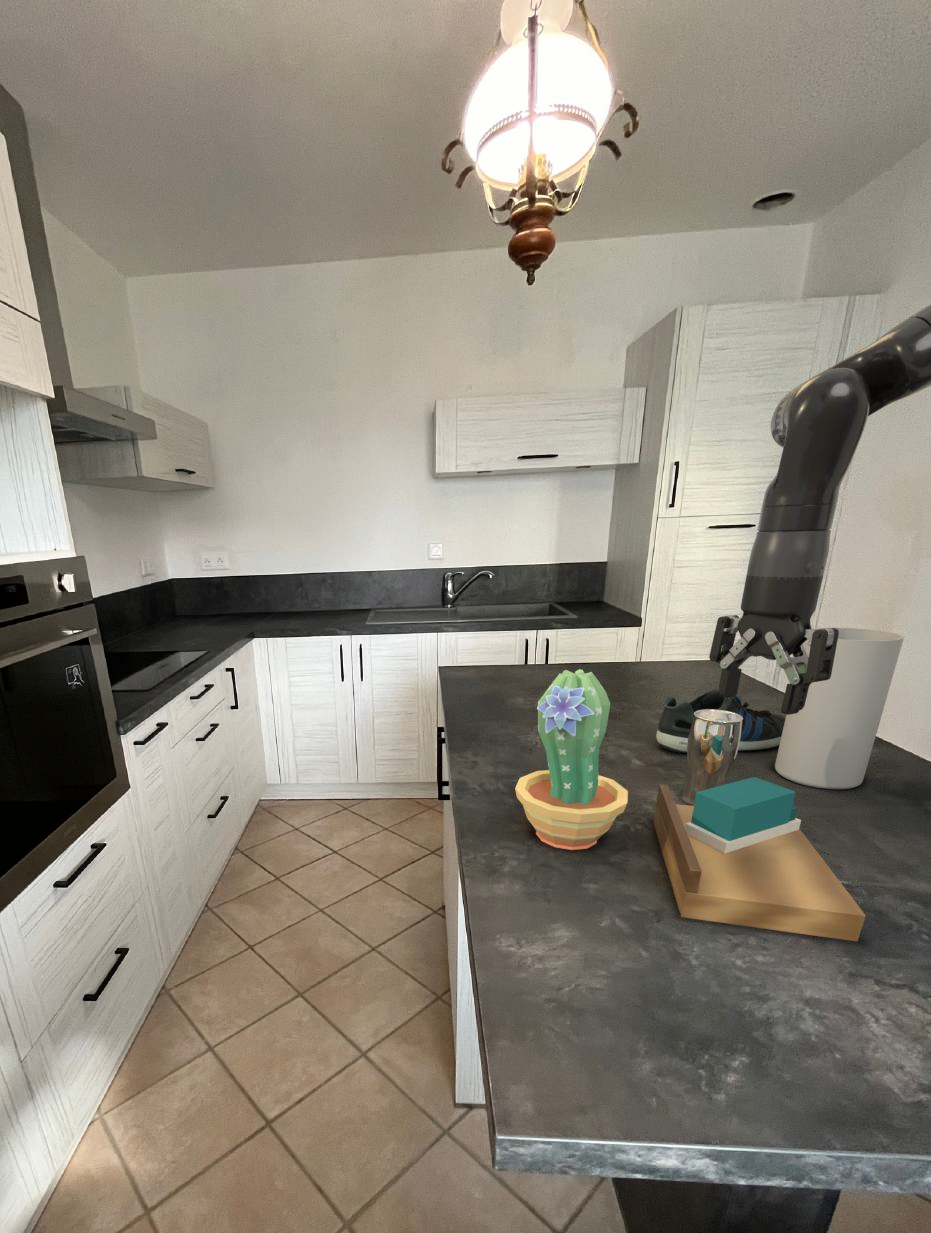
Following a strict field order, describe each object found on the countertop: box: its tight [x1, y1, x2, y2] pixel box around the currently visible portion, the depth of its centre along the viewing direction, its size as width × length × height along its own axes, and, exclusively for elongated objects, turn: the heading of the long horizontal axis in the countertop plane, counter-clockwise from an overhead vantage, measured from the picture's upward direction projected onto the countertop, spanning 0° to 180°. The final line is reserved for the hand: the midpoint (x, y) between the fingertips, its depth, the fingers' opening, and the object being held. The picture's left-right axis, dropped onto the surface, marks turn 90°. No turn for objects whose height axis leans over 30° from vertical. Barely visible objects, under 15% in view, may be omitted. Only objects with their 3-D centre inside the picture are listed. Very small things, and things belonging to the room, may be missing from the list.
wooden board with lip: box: [653, 783, 866, 942], centre depth 75 cm, size 17×24×7 cm
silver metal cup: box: [681, 709, 743, 806], centre depth 93 cm, size 7×7×15 cm
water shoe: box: [655, 688, 786, 754], centre depth 118 cm, size 10×29×12 cm, turn 104°
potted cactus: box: [514, 668, 629, 851], centre depth 82 cm, size 15×15×25 cm
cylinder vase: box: [774, 627, 905, 791], centre depth 100 cm, size 12×12×25 cm
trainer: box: [685, 776, 802, 854], centre depth 78 cm, size 14×6×6 cm, turn 113°
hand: (757, 704), depth 75 cm, fingers open, 8 cm apart
